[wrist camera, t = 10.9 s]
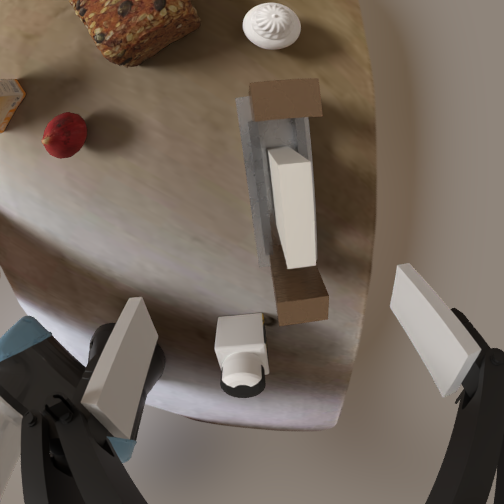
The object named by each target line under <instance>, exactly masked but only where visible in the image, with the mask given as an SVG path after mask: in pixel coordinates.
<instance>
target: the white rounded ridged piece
mask: <svg viewBox="0 0 504 504" xmlns="http://www.w3.org/2000/svg"><path fill="white" fill-rule="evenodd" d="M243 31H244V33H245V35H246V36H247V38H248V39H249V40H250V41H251V42H252V43H254V44H255V45H257V46H258V47H261V48H264V49H270V50H274V49H282V48H285V47H288V46H290V45H291V44H293V43H294V42H295V41H296V40H297V38H298V37H299V35H300V31H301V24H300V21H299V18H298V17H297V15H296V14H295V13H294V12H293V11H292V10H291V9H290V8H288V7H286V6H284V5H282V4H278V3H264V4H260V5H257V6H255V7H253V8H252V9H251V10H249V11H248V12H247V14H246V15H245V17H244V20H243Z"/></svg>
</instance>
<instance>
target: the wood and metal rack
mask: <svg viewBox="0 0 504 504" xmlns="http://www.w3.org/2000/svg"><path fill="white" fill-rule="evenodd" d="M235 99H236V106H237V113H238V120H239V127H240V134H241V141H242V148H243V154H244V161H245V168H246V175H247V183H248V190H249V197H250V204H251V211H252V218H253V225H254V232H255V239H256V247H257V254H258V261H259V267H266V266H270V267H271V274H272V280H273V287H274V294H275V301H276V308H277V315H278V322H279V326H285V325H292V324H300V323H307V322H313V321H320V320H326V319H328V307H329V295H328V292H327V290H326V287H325V285H324V283H323V280H322V278H321V275H320V273H319V271H318V268H317V266H316V265H315V266H308V267H300V268H293V269H288V268H287V264H286V260H285V256H284V252H283V248H282V245H281V241H280V237H279V233H278V229H277V226H276V222H275V216H274V206H273V197H272V189H271V180H270V171H269V163H268V155H267V148H274V147H284V146H289V147H290V148H292V149H293V150H294V151H296V152H297V153H299V154H300V155H302V156H303V157H305V158H306V159H307V160H309V161H310V162H311V171H312V185H313V202H314V221H315V248H316V260H317V230H316V207H315V190H314V175H313V162H312V150H311V139H310V129H309V120H308V117H322V116H323V113H322V104H321V96H320V88H319V80H318V79H290V80H275V81H264V82H254V83H250V86H249V96H248V97H240V98H235Z"/></svg>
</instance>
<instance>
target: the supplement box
mask: <svg viewBox="0 0 504 504" xmlns="http://www.w3.org/2000/svg"><path fill="white" fill-rule="evenodd" d="M25 95H26V93H25V92H24V90H23V89H22V87H21V85H20V84H19V82H18V80H17V79H0V133H3V132H4V130H5V128H6V126H7V124H8V123H9V121H10V119H11V117H12V116H13V114H14V112H15V110H16V109H17V107H18V106H19V104H20V103H21V101H22V100H23V98H24V97H25Z"/></svg>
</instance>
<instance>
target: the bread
mask: <svg viewBox="0 0 504 504" xmlns="http://www.w3.org/2000/svg"><path fill="white" fill-rule="evenodd" d="M69 2H70V4H71V5H72V6H73V7H74V10H75V11H76V12H75V13H76V15H77V16H79V17H80V19H81V20H82V22H83V23H84V24H85V26H86V27H87V28H88V31H89V33H90V35H91V37H92V38H93V40H94V42H95V44H96V46H97V48H98V49H99V50H100V51H101V52H102V54H103V56H104V57H105V58H106V59H108V60H109V61H110V62H112V63H114V64H118V65H119V66H120V65H123V66H124V67H127V68H128V66H129V67H133V66H138V65H140V64H141V63H143V62H144V60H146V59H148V58H150V57H152V56H154V55H155V54H156V53H158V52H159V51H160V50H161V49H162V48H165V47H166V46H167V45H168V44H170V43H172V42H174V41H177V40H179V39H181V38H182V37H184V36H185V35H187V34H189V33H191V32H193V31H194V30H196V29H197V28H199V26H200V18H199V16H198V15H197V11H196V9H195V8H194V7H193V5H192V4H191V1H190V0H69Z"/></svg>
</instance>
